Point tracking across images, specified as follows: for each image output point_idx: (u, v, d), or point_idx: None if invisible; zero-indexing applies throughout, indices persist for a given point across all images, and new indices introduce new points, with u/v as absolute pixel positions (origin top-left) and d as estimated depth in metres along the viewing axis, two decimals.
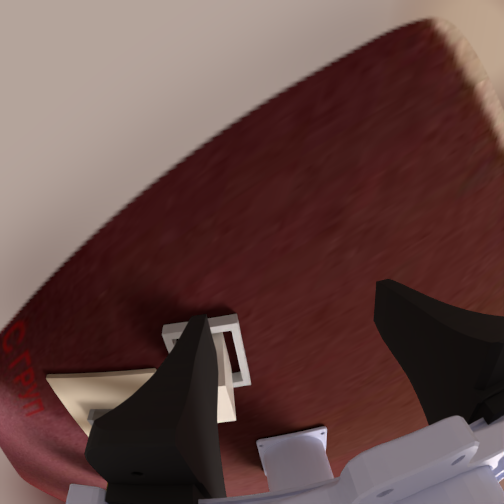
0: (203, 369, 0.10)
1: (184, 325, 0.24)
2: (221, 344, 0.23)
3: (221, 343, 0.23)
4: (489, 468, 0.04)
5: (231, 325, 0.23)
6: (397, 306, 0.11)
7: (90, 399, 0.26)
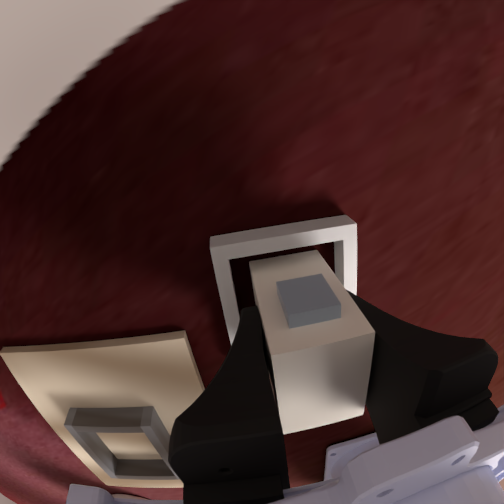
0: (265, 359, 0.10)
1: (253, 233, 0.13)
2: (326, 267, 0.12)
3: (326, 265, 0.12)
4: (489, 468, 0.04)
5: (344, 229, 0.12)
6: None
7: (69, 391, 0.15)
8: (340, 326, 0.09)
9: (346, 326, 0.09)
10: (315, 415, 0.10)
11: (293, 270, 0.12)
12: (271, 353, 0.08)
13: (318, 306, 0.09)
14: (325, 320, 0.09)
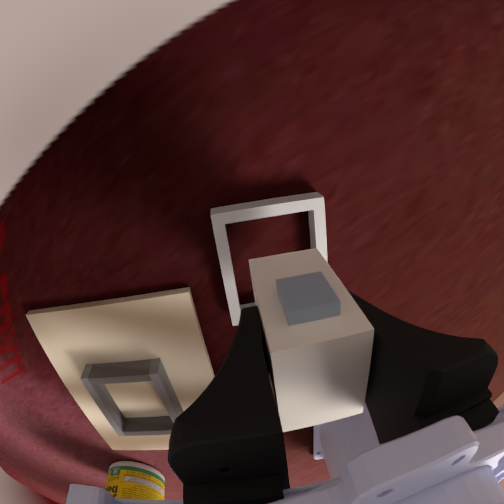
0: None
1: (244, 205, 0.17)
2: (326, 265, 0.12)
3: (325, 263, 0.12)
4: (489, 468, 0.04)
5: (314, 201, 0.16)
6: None
7: (87, 347, 0.19)
8: (340, 323, 0.09)
9: (345, 323, 0.09)
10: (314, 413, 0.10)
11: (293, 267, 0.13)
12: (270, 350, 0.08)
13: (317, 303, 0.09)
14: (324, 317, 0.09)
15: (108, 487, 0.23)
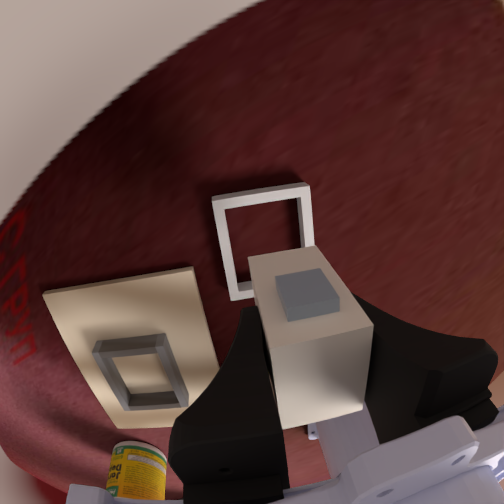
0: (265, 359, 0.10)
1: (240, 193, 0.19)
2: (325, 262, 0.12)
3: (324, 260, 0.12)
4: (489, 468, 0.04)
5: (301, 189, 0.19)
6: None
7: (98, 323, 0.22)
8: (339, 319, 0.09)
9: (345, 318, 0.09)
10: (314, 409, 0.10)
11: (292, 265, 0.13)
12: (270, 346, 0.08)
13: (316, 299, 0.09)
14: (323, 313, 0.09)
15: (112, 466, 0.25)
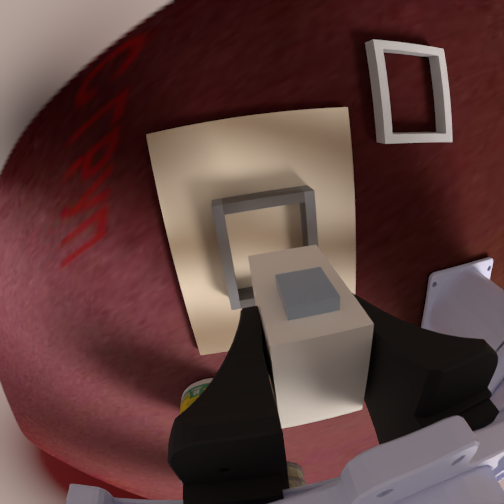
0: (264, 359, 0.10)
1: None
2: (325, 261, 0.12)
3: (324, 259, 0.12)
4: (489, 468, 0.04)
5: (438, 50, 0.16)
6: None
7: (221, 172, 0.18)
8: (339, 318, 0.09)
9: (345, 318, 0.09)
10: (313, 409, 0.10)
11: (292, 264, 0.13)
12: (269, 344, 0.08)
13: (317, 298, 0.09)
14: (323, 312, 0.09)
15: None
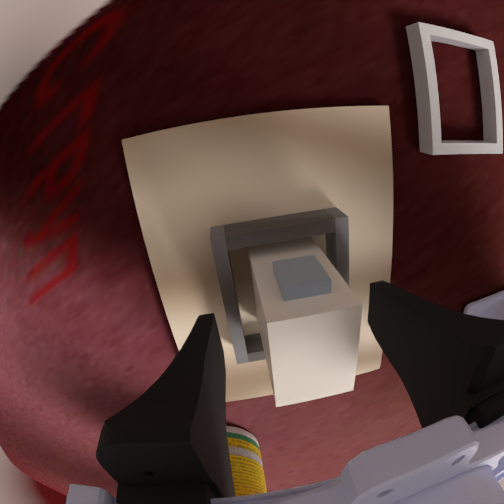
0: (212, 368, 0.10)
1: None
2: (319, 251, 0.13)
3: (319, 249, 0.13)
4: (489, 468, 0.04)
5: (487, 42, 0.11)
6: (390, 308, 0.11)
7: (223, 190, 0.14)
8: (331, 299, 0.10)
9: (336, 299, 0.10)
10: (307, 387, 0.11)
11: (289, 253, 0.14)
12: (267, 321, 0.09)
13: (310, 281, 0.10)
14: (316, 294, 0.10)
15: None
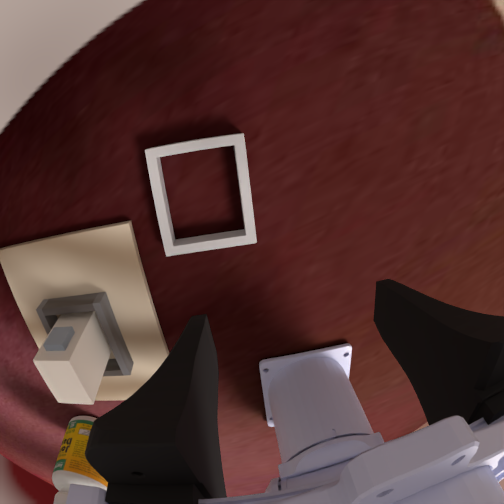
0: (203, 369, 0.10)
1: (175, 143, 0.18)
2: (87, 321, 0.20)
3: (87, 320, 0.20)
4: (489, 468, 0.04)
5: (235, 137, 0.18)
6: (397, 306, 0.11)
7: (44, 281, 0.20)
8: (61, 354, 0.17)
9: (63, 354, 0.17)
10: (67, 396, 0.17)
11: (74, 320, 0.20)
12: (33, 359, 0.16)
13: (55, 343, 0.17)
14: (58, 350, 0.17)
15: (64, 440, 0.24)
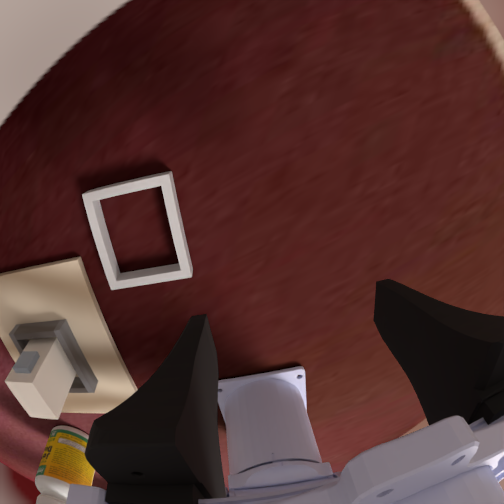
0: (203, 369, 0.10)
1: (109, 185, 0.18)
2: (51, 345, 0.21)
3: (51, 344, 0.21)
4: (489, 468, 0.04)
5: (161, 178, 0.18)
6: (397, 306, 0.11)
7: (15, 308, 0.21)
8: (27, 376, 0.17)
9: (28, 377, 0.17)
10: (35, 411, 0.18)
11: (40, 344, 0.21)
12: (5, 380, 0.17)
13: (22, 366, 0.17)
14: (25, 372, 0.17)
15: (46, 447, 0.25)
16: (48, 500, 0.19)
